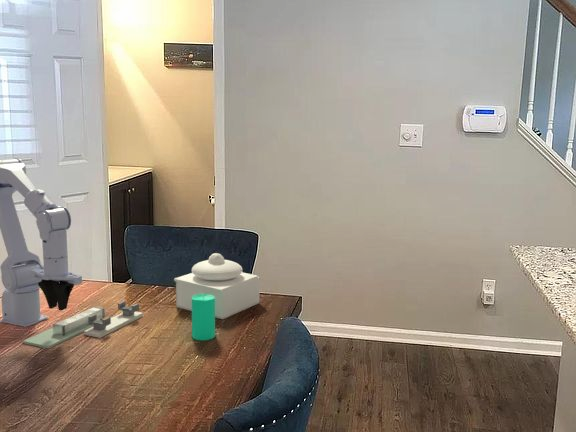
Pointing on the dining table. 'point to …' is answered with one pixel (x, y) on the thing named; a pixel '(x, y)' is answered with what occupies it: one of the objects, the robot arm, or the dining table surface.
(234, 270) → the butter dish
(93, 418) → the dining table surface
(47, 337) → the mat
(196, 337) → the candle
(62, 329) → the rail
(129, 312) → the standards
